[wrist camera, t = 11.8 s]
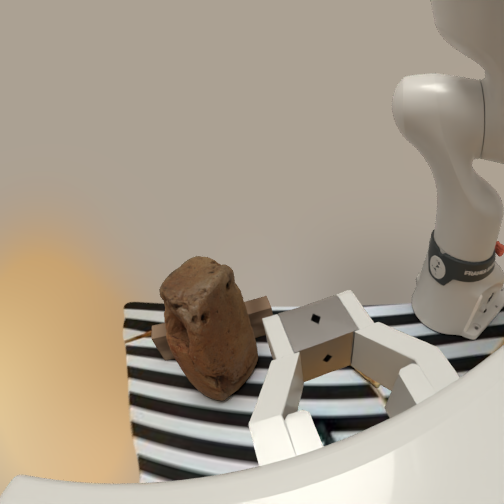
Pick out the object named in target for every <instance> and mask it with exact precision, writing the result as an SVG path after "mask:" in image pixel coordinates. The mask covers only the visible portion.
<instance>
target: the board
mask: <svg viewBox="0 0 504 504" xmlns="http://www.w3.org/2000/svg"><path fill="white" fill-rule="evenodd" d="M244 303H245V306H246V308H247V312H248V315H249V319H250V324H251V327H252V329H253V332H254V337H255V338H257V337H260V336H264V335H266V333H265V329H264V325H263V321H262V318H266V317H269V316H273V314H272V309H271V306H270V303H269V301H268V298H267V296H264V297H261V298H257V299H254V300H250V301H247V302H244ZM152 340H153V342H154V344H155V345H156V347H157V348H158V350H159V352H160V353H161V355H162V356H163V358H164V359H165V360H170V359H174V358H175V357H174V355H173V354H172V352H171V350H170V347H169V345H168V342H167V338H166V328H165V323H163V324H159V325H155V326H152Z"/></svg>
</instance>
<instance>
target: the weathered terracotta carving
mask: <svg viewBox="0 0 504 504" xmlns="http://www.w3.org/2000/svg"><path fill="white" fill-rule="evenodd" d="M160 296H161V298H162V299H163V300H164V304H165V308H166V309H165V312H164V317H165V328H166V338H167V342H168V345H169V347H170V350H171V352H172V354H173V355H174V357H175V359H176V361H177V362H178V364H179V366H180V367H181V369H182V371H183V372H184V374H185V375H186V377H187V378H188V379H189V381H190V382H191V383H192V384H193V385H194V387H195V388H196V389H198V390H199V391H200V392H201V393H203V394H204V395H205V396H207V397H209V398H211V399H215V400H220V401H222V400H225V399H226V398H227V397H228V396H230V395H232V394H233V393H234V392H236V391H237V390H238V389H239V388H240V387H241V386H242V385H243V384H244V383H245V381H246V380H247V379H248V378H249V376H250V375H251V373H252V372H253V370H254V368H255V365H256V364H257V360H258V353H257V346H256V340H255V337H254V332H253V329H252V327H251V324H250V319H249V315H248V312H247V308H246V306H245V303H244V301H243V297H242V295H241V291H240V289H239V288H238V286H237V285H236V284H235V280H234V273H233V270H232V269H231V268H230V267H229V266H227V265H220V264H218V263H217V262H216V261H215V260H213V259H210V258H208V257H200V256H196V257H193V258H191V259H189V260H187V261H186V262H185V263H184V264H182V265H181V267H179V268H178V269H176V270H175V271H173V272H172V273H171V274H170V275H169V276H168V277H167V278H166V279H165V281H164V282H163V283H162V285H161V287H160Z"/></svg>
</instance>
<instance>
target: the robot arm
mask: <svg viewBox="0 0 504 504" xmlns="http://www.w3.org/2000/svg"><path fill="white" fill-rule="evenodd" d="M430 1H431V5H432V10H433V15H434V20H435V25H436V28H437V30H438V32H439V33H440V35H441V36H442V37H443V39H444V40H445V41H446V42H447V43H449V44H450V45H451V46H452V47H454V48H455V49H456V50H458V51H459V52H461V53H462V54H464V55H466V56H467V57H469V58H471V59H472V60H474V61H475V62H477V63H478V64H479V65H480V66H481V67H482V68H483V69H484V70H485V78H484V79H483V80H476V79H470V78H464V77H458V76H451V75H444V74H436V73H432V74H420V75H413V76H406V77H404V78H403V79H402V80H401V81H400V82H399V84H398V85H397V87H396V89H395V91H394V94H393V99H392V112H393V117H394V120H395V123H396V125H397V127H398V129H399V131H400V132H401V134H402V135H403V136H404V137H405V138H406V140H408V141H409V142H410V143H411V144H412V145H413V146H414V147H415V148H416V149H417V150H418V151H419V152H420V153H421V155H422V156H423V157H424V159H425V160H426V162H427V163H428V165H429V167H430V169H431V171H432V173H433V176H434V179H435V183H436V188H437V214H436V223H435V229H434V230H433V232H432V234H431V238H430V241H429V243H430V244H429V250H428V252H427V255H426V258H425V261H424V264H423V268H422V271H421V273H419V274H418V275H417V278H416V285H417V287H416V289H415V291H414V293H413V296H412V307H413V310H414V312H415V314H416V316H417V317H418V319H419V320H420V321H421V322H422V323H423V324H425V325H426V326H427V327H429V328H431V329H432V330H435V331H437V332H440V333H444V334H451V335H461V336H463V337H465V338H468V339H472V340H474V339H476V338H477V337H478V336H479V335H480V334H481V333H482V332H483V331H484V329H485V328H486V327H487V326H488V325H489V324H490V323H491V321H492V320H493V319H494V318H495V317H496V315H497V314H498V313H499V312H500V310H501V309H502V308H503V307H504V288H503V283H504V273H503V270H502V269H501V267H500V266H499V265H498V264H497V263H496V261H495V252H496V254H497V255H498V256H502V255H503V253H504V245H502V244H500V243H499V241H497V238H498V234H499V230H500V226H501V222H502V218H503V204H502V200H501V198H500V196H499V194H498V193H497V191H496V190H495V189H494V188H493V187H492V186H491V185H490V184H489V183H488V182H487V181H485V180H484V179H483V178H482V177H480V176H479V175H478V174H477V173H476V172H475V170H474V169H473V167H472V161H473V160H474V159H479V158H480V159H484V160H489V161H493V162H497V163H501V164H504V0H430ZM262 321H263V325H264V329H265V333H266V337H267V341H268V344H269V348H270V351H271V355H272V358H273V360H272V361H271V364H270V367H269V370H268V372H267V375H266V378H265V381H264V384H263V387H262V389H261V392H260V395H259V398H258V400H257V403H256V406H255V409H254V411H253V414H252V417H251V419H250V422H249V428H250V432H251V436H252V440H253V444H254V448H255V451H256V455H257V459H258V463H259V466H258V467H254V468H250V469H245V470H241V471H236V472H231V473H226V474H220V475H215V476H209V477H202V478H195V479H187V480H178V481H168V482H155V483H134V484H105V483H104V484H103V483H84V482H71V481H61V480H53V479H45V478H39V477H33V476H27V475H17V476H16V477H14V478H13V480H12V481H11V482H10V483H9V485H8V486H7V487H6V489H5V490H4V492H3V493H2V495H1V496H0V504H504V345H503V346H502V347H500V348H499V349H498V350H497V351H495V352H494V353H493V354H492V355H490V356H489V357H488V358H486V359H485V360H484V361H482V362H481V363H480V364H478V365H477V366H476V367H474V368H473V369H472V370H470V371H469V372H467V373H466V374H464V375H463V376H461V377H459V376H458V374H457V373H456V371H455V370H454V368H453V367H452V366H451V364H450V363H449V361H448V360H447V359H446V357H445V356H444V354H443V353H442V352H441V350H440V349H439V348H438V347H436V346H433V345H431V344H429V343H426V342H424V341H422V340H419V339H417V338H415V337H412V336H410V335H408V334H405V333H403V332H401V331H398V330H396V329H394V328H391V327H389V326H387V325H385V324H382V323H380V322H377V323H374V322H373V320H372V319H371V318H370V316H369V315H368V313H367V312H366V310H365V309H364V308H363V306H362V305H361V303H360V302H359V301H358V299H357V298H356V296H355V295H354V294H353V292H352V291H350V290H348V291H345V292H342V293H339V294H336V295H333V296H330V297H327V298H325V299H322V300H319V301H316V302H313V303H310V304H308V305H306V306H302V307H299V308H296V309H292V310H289V311H286V312H282V313H279V314H276V315H273V316H269V317H266V318H262ZM476 329H477V330H476ZM349 365H351V366H352V367H354V368H355V369H357V370H358V371H360V372H362V373H363V374H365V375H366V376H368V377H370V378H371V379H373V380H374V381H376V382H378V383H379V384H381V385H382V386H384V387H386V388H387V389H389V390H391V391H392V392H391V394H390V396H389V399H388V401H387V403H386V406H385V410H386V412H387V413H388V415H389V417H390V419H388V420H386V421H384V422H382V423H379V424H377V425H375V426H373V427H371V428H369V429H366V430H364V431H362V432H360V433H357V434H355V435H353V436H350V437H348V438H345V439H343V440H340V441H338V442H335V443H333V444H330V445H327V446H324V447H323V445H322V443H321V440H320V438H319V435H318V433H317V431H316V428H315V426H314V423H313V421H312V418H311V416H310V413H309V412H308V411H304V410H300V411H297V410H298V406H299V402H300V398H301V394H302V389H303V385H304V382H306V381H308V380H311V379H314V378H316V377H319V376H321V375H324V374H326V373H329V372H332V371H335V370H338V369H341V368H343V367H346V366H349Z"/></svg>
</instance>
